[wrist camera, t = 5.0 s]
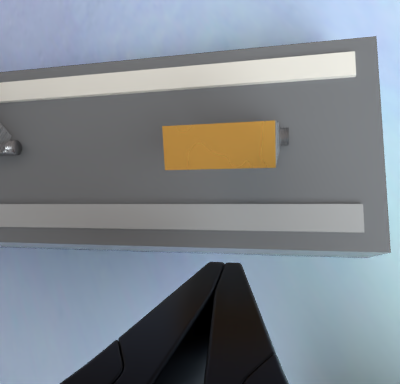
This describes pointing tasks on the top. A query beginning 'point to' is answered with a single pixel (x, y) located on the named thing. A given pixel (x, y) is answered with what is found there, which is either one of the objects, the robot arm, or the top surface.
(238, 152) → the lever
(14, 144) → the lever
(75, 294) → the top surface
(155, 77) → the switch box
